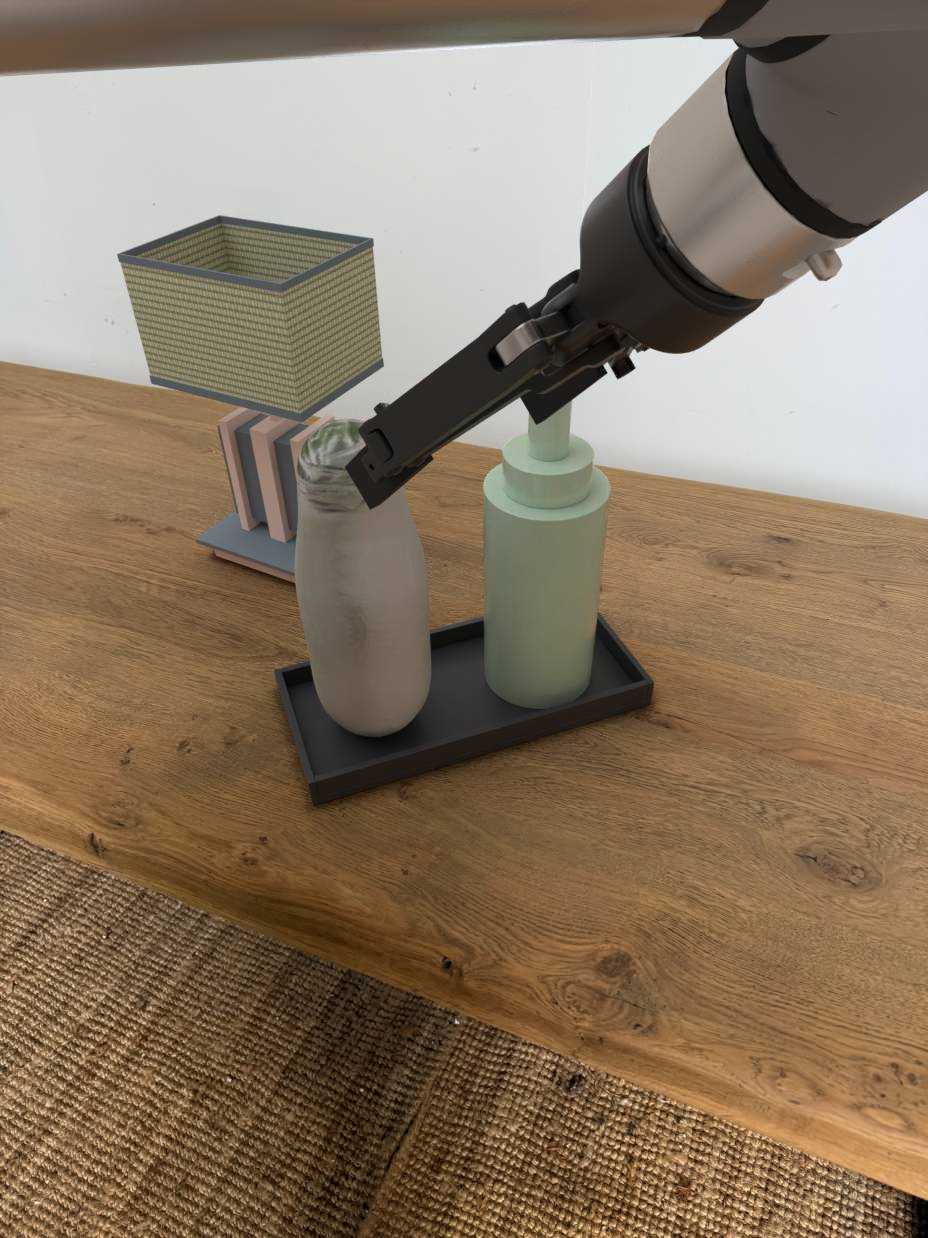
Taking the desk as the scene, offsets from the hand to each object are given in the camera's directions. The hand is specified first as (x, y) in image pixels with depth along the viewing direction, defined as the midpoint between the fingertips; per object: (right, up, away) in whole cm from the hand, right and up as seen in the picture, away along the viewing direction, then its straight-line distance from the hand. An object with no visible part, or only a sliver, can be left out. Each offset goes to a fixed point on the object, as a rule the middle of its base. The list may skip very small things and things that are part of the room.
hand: (451, 442), depth 51 cm
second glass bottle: (+8, -15, +30) cm, 34 cm away
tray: (+1, -18, +28) cm, 33 cm away
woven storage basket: (-18, -2, +48) cm, 51 cm away
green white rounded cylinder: (-7, -19, +26) cm, 33 cm away
